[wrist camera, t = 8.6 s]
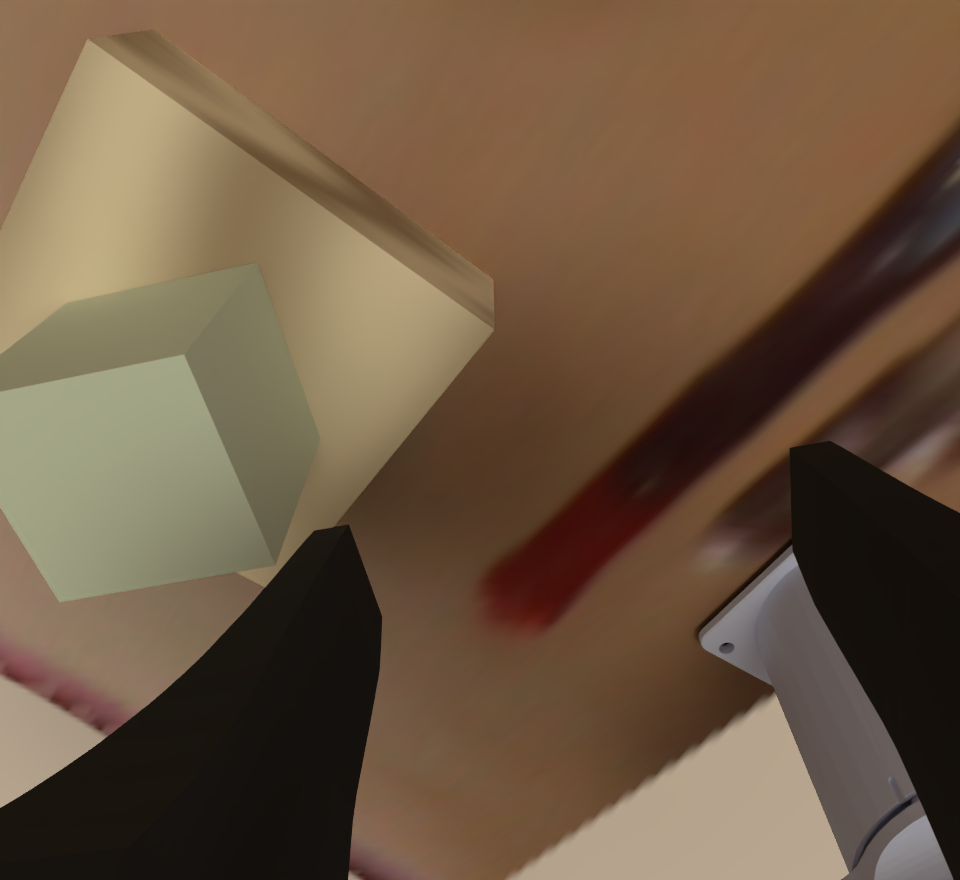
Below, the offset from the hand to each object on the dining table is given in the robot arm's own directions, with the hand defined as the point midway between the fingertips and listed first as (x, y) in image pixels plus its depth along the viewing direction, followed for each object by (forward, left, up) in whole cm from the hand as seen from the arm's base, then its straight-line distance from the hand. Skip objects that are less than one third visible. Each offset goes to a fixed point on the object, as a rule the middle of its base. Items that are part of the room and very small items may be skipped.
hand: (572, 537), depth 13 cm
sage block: (+7, +5, -7) cm, 11 cm away
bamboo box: (+7, +5, -11) cm, 14 cm away
